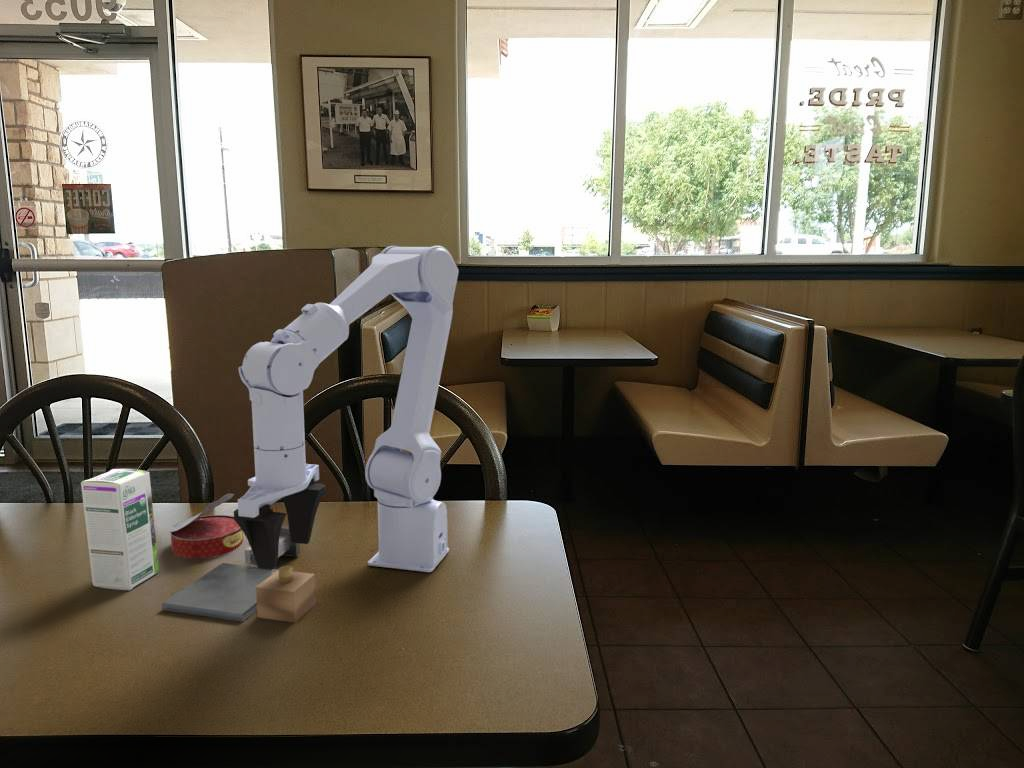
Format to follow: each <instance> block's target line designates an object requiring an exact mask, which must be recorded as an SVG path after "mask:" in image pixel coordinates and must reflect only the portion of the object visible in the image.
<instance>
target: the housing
mask: <svg viewBox="0 0 1024 768" xmlns="http://www.w3.org/2000/svg"><path fill="white" fill-rule="evenodd" d="M277 570H278V571H276V572H275V573H274V574H272V575H271V576H270V577H268V578H267V579H266V580H265V581H263V582H262V583H261V584H259V585H258V586H257V587H256V596H257V611H256V612H257V614H256V615H257V618H260V619H267V620H276V621H281V622H287V623H288V622H289V623H297V622H298V621H299V620H300V619H301V618H302V617H303V616H304V615H305V614H307V613H308V612H309V610H311V609H312V608H314V606H315V605H316V604H317V590H316V587H317V585H316V573H309V572H301V571H293V566H289V565H284V566H281V567H279V568H278V569H277Z"/></svg>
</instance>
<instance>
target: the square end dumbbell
mask: <svg viewBox="0 0 1024 768" xmlns="http://www.w3.org/2000/svg"><path fill="white" fill-rule="evenodd" d="M300 554H301V543H292V540H291V537H290V532H289V525H284V524H282V527H281V531H280V537H279V548H278V558H280V557H281V556H289V557H298V556H299V555H300ZM244 561H245V564H247V565H254V566H257V564H256V561H255V558H254V555H253V552H252V549H251V546H248V547H246V548H245V549H244Z"/></svg>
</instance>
